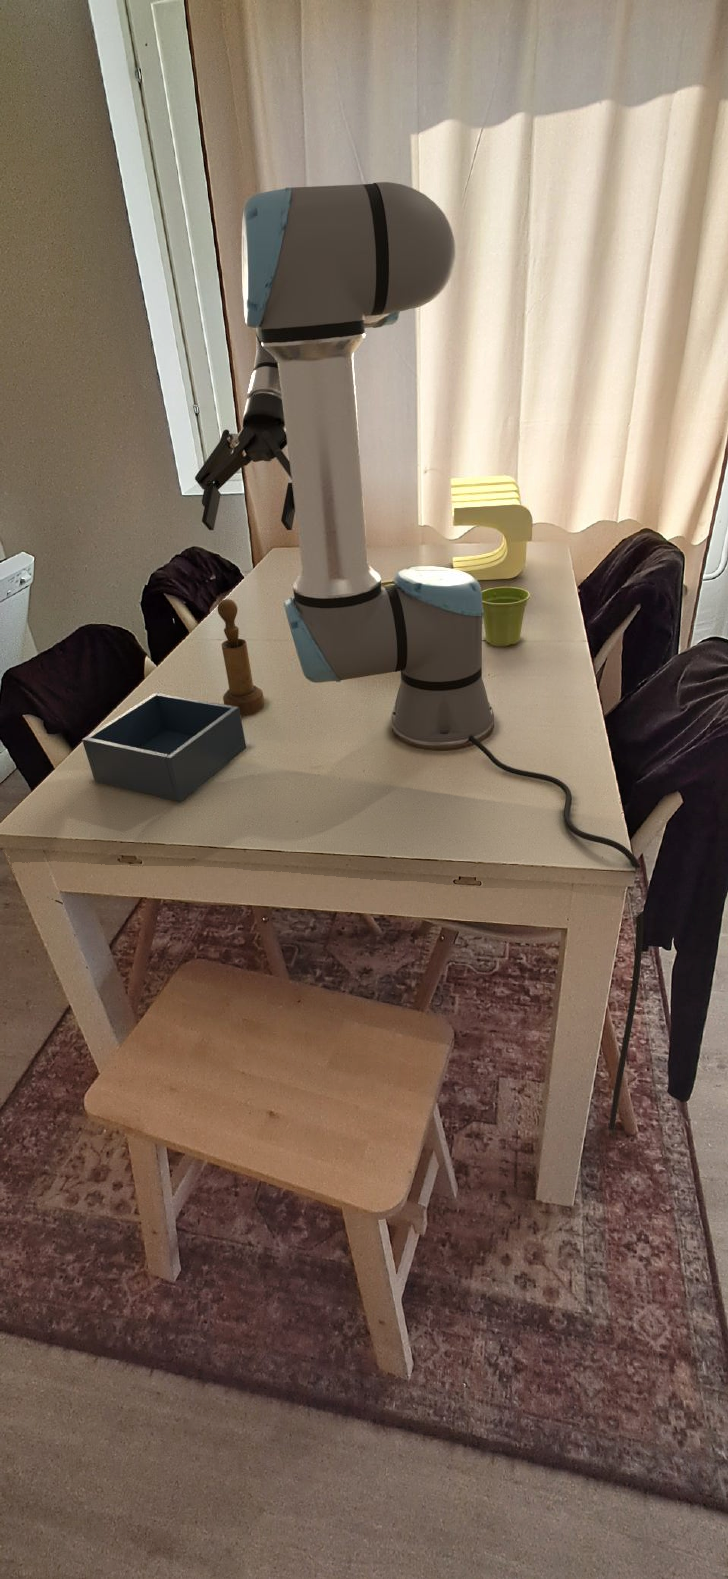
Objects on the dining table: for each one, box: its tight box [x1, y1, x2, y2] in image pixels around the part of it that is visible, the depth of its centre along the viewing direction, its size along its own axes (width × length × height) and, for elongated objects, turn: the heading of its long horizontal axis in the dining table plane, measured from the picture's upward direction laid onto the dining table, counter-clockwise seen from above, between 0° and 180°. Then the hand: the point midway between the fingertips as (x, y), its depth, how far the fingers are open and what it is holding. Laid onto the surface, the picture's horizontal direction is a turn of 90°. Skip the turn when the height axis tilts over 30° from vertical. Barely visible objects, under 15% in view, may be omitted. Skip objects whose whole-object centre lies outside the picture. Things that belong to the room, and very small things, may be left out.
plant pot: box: [481, 586, 531, 647], centre depth 139 cm, size 9×9×9 cm
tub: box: [81, 692, 247, 803], centre depth 110 cm, size 16×16×7 cm
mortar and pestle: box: [216, 598, 265, 717], centre depth 121 cm, size 7×6×18 cm
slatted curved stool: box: [450, 475, 534, 581], centre depth 173 cm, size 30×16×18 cm, turn 176°
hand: (246, 525), depth 120 cm, fingers open, 13 cm apart
